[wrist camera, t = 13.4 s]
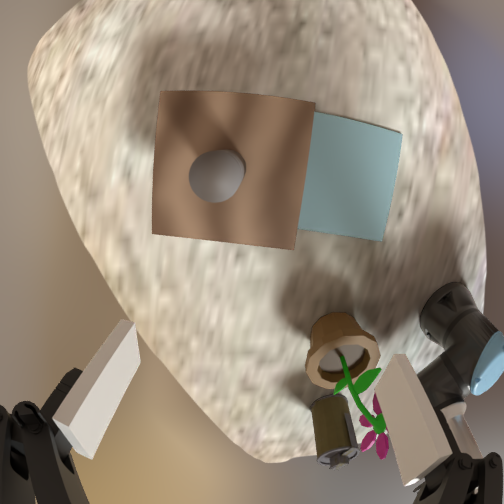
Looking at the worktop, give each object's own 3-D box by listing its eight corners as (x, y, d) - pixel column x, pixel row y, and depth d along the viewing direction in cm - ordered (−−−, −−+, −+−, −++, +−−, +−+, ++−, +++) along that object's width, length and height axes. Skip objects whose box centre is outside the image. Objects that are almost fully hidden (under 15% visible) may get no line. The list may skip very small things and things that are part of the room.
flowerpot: (346, 360, 58) (377, 472, 30) (290, 349, 57) (300, 475, 29) (377, 312, 53) (436, 425, 25) (317, 295, 52) (355, 429, 24)
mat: (401, 134, 40) (402, 134, 39) (380, 240, 47) (381, 241, 46) (290, 107, 39) (291, 107, 39) (274, 224, 47) (274, 225, 46)
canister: (331, 418, 67) (341, 475, 48) (302, 411, 65) (308, 472, 47) (356, 397, 63) (372, 457, 45) (327, 389, 62) (339, 454, 43)
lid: (308, 108, 29) (336, 87, 17) (289, 236, 36) (304, 286, 23) (173, 97, 29) (126, 75, 17) (164, 222, 35) (120, 263, 23)
